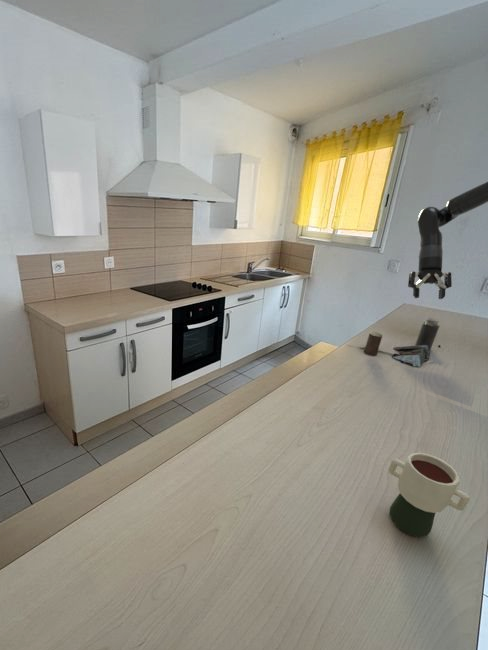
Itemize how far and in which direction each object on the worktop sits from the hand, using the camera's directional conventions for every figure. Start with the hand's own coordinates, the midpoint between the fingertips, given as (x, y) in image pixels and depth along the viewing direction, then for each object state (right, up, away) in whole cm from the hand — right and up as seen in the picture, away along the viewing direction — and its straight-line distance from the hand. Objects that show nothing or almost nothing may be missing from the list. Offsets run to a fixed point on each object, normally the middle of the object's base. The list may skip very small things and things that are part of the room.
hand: (428, 298), depth 128 cm
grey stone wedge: (-15, -25, -9) cm, 30 cm away
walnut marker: (-25, -22, -4) cm, 34 cm away
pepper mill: (-4, -22, -1) cm, 22 cm away
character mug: (-56, -49, -70) cm, 102 cm away
